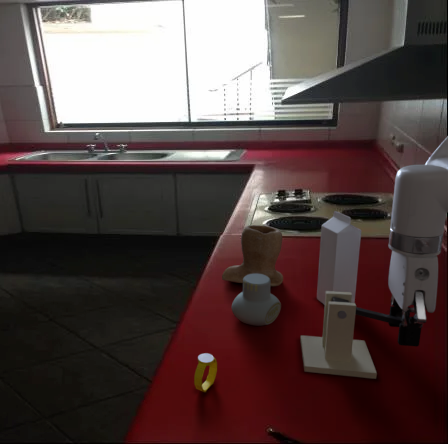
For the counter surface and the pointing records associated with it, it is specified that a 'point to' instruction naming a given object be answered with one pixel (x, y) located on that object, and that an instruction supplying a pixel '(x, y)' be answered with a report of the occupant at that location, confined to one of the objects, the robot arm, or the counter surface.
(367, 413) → the counter surface
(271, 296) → the air freshener
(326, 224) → the milk
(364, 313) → the lever
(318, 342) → the cream lever stand
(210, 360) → the watch
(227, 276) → the tan boot
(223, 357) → the counter surface
